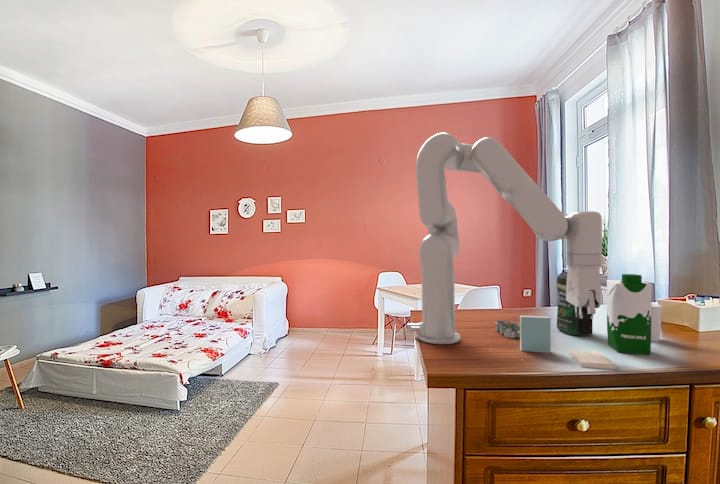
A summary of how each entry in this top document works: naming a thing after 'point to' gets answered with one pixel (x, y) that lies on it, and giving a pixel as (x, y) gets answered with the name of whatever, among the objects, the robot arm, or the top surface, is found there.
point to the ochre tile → (591, 359)
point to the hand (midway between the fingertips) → (584, 333)
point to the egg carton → (508, 328)
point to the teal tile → (535, 334)
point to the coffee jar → (565, 309)
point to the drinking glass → (655, 322)
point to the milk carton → (629, 314)
